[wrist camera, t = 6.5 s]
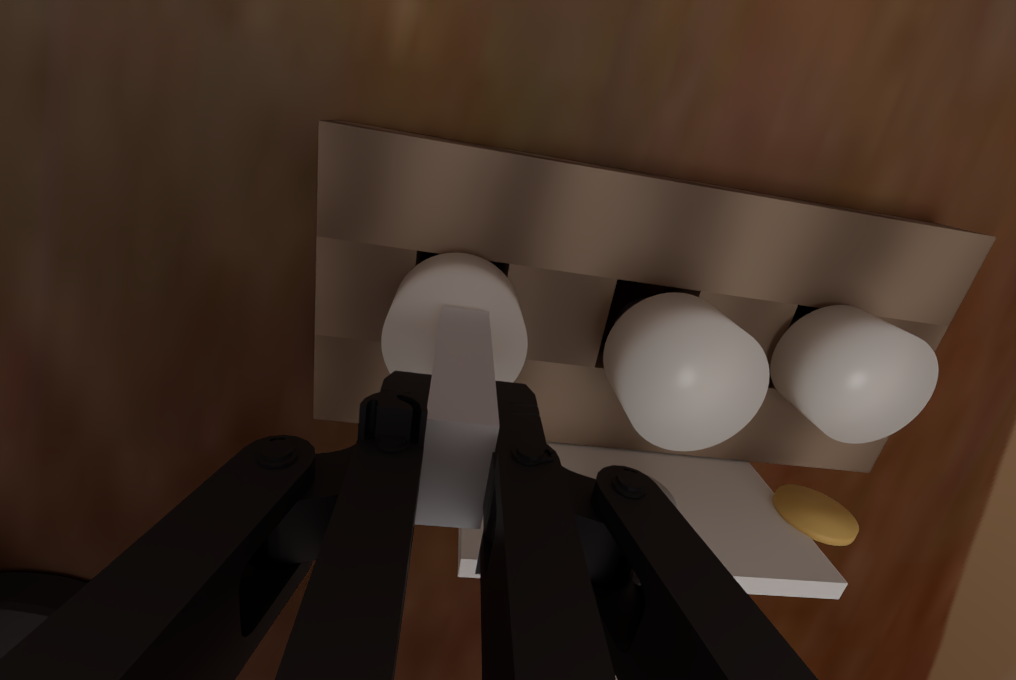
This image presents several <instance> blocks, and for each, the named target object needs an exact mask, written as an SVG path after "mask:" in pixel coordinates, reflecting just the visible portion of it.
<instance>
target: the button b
mask: <svg viewBox="0 0 1016 680" xmlns="http://www.w3.org/2000/svg"><path fill="white" fill-rule="evenodd" d="M603 364H604V370H605V374H606V376H607V379H608V381H609V383H610V385H611V386H612V388H613V390H614V392H615V394H616V396H617V398H618V399H619V401H620V403H621V405H622V407H623V409H624V411H625V412H626V414H627V416H628V418H629V420H630V422H631V424H632V425H633V427H634V428H635V430H636V431H637V432H638V433H639V434H640V435H641V436H642V437H643V438H644V439H645V440H647V441H648V442H650V443H652V444H653V445H656V446H658V447H660V448H664V449H667V450H673V451H695V450H701V449H705V448H708V447H712V446H714V445H717V444H719V443H721V442H723V441H725V440H727V439H729V438H730V437H732V436H733V435H735V434H736V433H738V432H739V431H740V430H741V429H743V428H744V427H745V426H746V425H747V424H748V423H749V422H750V421H751V419H752V418H753V417H754V416H755V415H756V413H757V412H758V410H759V408H760V407H761V405H762V403H763V401H764V399H765V396H766V393H767V390H768V385H769V374H770V373H769V365H768V361H767V357H766V355H765V353H764V351H763V349H762V347H761V346H760V344H759V343H758V342H757V341H756V340H755V339H754V338H753V337H752V336H751V335H749V334H748V333H747V332H745V331H744V330H743V329H741V328H740V327H739V326H738V325H736V324H735V323H734V322H732V321H731V320H730V319H728V318H727V317H726V316H725V315H723V314H722V313H721V312H719V311H718V310H717V309H715V308H714V307H713V306H712V305H710V304H709V303H708V302H706V301H705V300H703V299H701V298H699V297H697V296H694V295H691V294H686V293H677V292H673V293H663V294H658V295H655V296H651V297H649V298H639V299H635V300H633V301H631V302H629V303H627V304H626V305H625V306H624V307H623V308H622V309H621V310H620V311H619V313H618V314H617V316H616V319H615V323H614V326H613V327H612V329H611V331H610V333H609V335H608V337H607V340H606V343H605V347H604V352H603Z"/></svg>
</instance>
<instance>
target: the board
mask: <svg viewBox="0 0 1016 680" xmlns="http://www.w3.org/2000/svg"><path fill="white" fill-rule="evenodd" d="M995 239H996V237H994V236H990V235H985V234H981V233H976V232H972V231H968V230H963V229H959V228H954V227H950V226H945V225H941V224H937V223H931V222H925V221H920V220H914V219H908V218H902V217H897V216H891V215H885V214H879V213H873V212H868V211H862V210H856V209H850V208H844V207H839V206H833V205H827V204H821V203H816V202H810V201H804V200H798V199H792V198H787V197H781V196H775V195H769V194H763V193H758V192H752V191H746V190H740V189H735V188H729V187H723V186H717V185H711V184H706V183H700V182H694V181H688V180H682V179H677V178H671V177H665V176H659V175H654V174H648V173H642V172H636V171H630V170H625V169H619V168H613V167H607V166H601V165H596V164H590V163H584V162H578V161H573V160H567V159H561V158H555V157H549V156H544V155H538V154H532V153H526V152H520V151H515V150H509V149H503V148H497V147H492V146H486V145H480V144H474V143H468V142H463V141H457V140H451V139H445V138H439V137H434V136H428V135H422V134H416V133H410V132H405V131H399V130H393V129H387V128H382V127H376V126H370V125H364V124H358V123H353V122H347V121H341V120H321V121H319V128H318V183H317V237H316V292H315V347H314V402H313V419H319V420H329V421H339V422H350V423H359V409H360V403H361V402H362V401H363V400H364V398H366V397H368V396H370V395H372V394H374V393H378V392H380V389H381V386H382V383H383V380H384V378H386V377H387V376H388V375H390V373H389V371H388V369H387V366H386V364H385V361H384V358H383V354H382V347H381V337H382V330H383V326H384V323H385V319H386V317H387V315H388V312H389V310H390V307H391V305H392V302H393V300H394V297H395V295H396V292H397V290H398V288H399V286H400V283H401V282H402V280H403V279H404V277H405V276H406V275H407V274H408V273H409V272H410V270H412V269H413V268H414V267H415V266H416V265H418V264H419V263H420V260H421V251H424V252H431V253H438V254H445V253H456V252H457V253H467V254H471V255H475V256H478V257H481V258H483V259H485V260H487V261H494V262H501V263H502V265H501V271H502V272H503V273H504V274H505V275H506V277H507V278H508V279H509V281H510V282H511V284H512V286H513V288H514V290H515V292H516V295H517V298H518V302H519V306H520V309H521V313H522V316H523V320H524V323H525V327H526V332H527V340H528V347H527V355H526V359H525V362H524V365H523V367H522V370H521V372H520V373H519V375H518V377H517V378H516V380H515V381H514V382H513V383H521V384H526V385H527V386H528V387H529V388H530V389H531V390H532V392H533V393H534V394H535V396H536V400H537V405H538V406H537V407H538V409H539V413H540V418H541V422H542V426H543V431H544V435H545V439H546V442H557V443H567V444H577V445H588V446H598V447H608V448H619V449H629V450H640V451H650V452H660V453H671V454H681V455H691V456H702V457H712V458H722V459H733V460H743V461H753V462H764V463H774V464H784V465H795V466H805V467H816V468H826V469H836V470H847V471H857V472H867V473H869V472H870V470H871V469H872V467H873V465H874V463H875V461H876V459H877V457H878V456H879V454H880V452H881V450H882V448H883V446H884V444H885V443H886V441H887V439H888V437H889V436H887V437H884V438H882V439H879V440H876V441H872V442H867V443H859V444H851V443H844V442H840V441H837V440H834V439H832V438H830V437H829V436H827V435H826V434H825V433H823V432H822V431H821V430H820V429H819V428H818V427H817V426H816V425H814V424H813V423H812V422H811V421H810V420H809V419H808V418H806V417H805V416H804V415H803V414H802V413H801V412H800V411H799V410H797V409H796V408H795V407H794V406H793V405H792V404H791V403H790V402H788V401H787V400H786V399H785V398H784V397H783V396H782V395H781V394H780V393H779V392H778V391H777V390H776V388H775V387H774V384H773V382H772V379H771V373H770V365H771V359H772V355H773V352H774V350H775V347H776V345H777V343H778V342H779V340H780V339H781V337H782V336H783V335H784V333H785V332H786V331H787V330H788V329H789V326H790V324H791V321H792V319H793V316H794V314H795V311H796V309H797V307H798V305H802V306H809V307H816V308H823V307H827V306H832V305H849V306H853V307H856V308H859V309H861V310H863V311H865V312H867V313H869V314H871V315H873V316H876V317H878V318H880V319H882V320H884V321H886V322H888V323H890V324H892V325H894V326H896V327H898V328H900V329H902V330H904V331H906V332H908V333H910V334H912V335H915V336H917V337H919V338H920V339H922V340H924V341H925V342H926V343H927V344H928V345H929V346H930V347H931V348H932V350H933V351H934V352H935V350H936V348H937V346H938V344H939V343H940V341H941V339H942V337H943V335H944V333H945V331H946V330H947V328H948V326H949V324H950V322H951V320H952V319H953V317H954V315H955V313H956V311H957V309H958V307H959V306H960V304H961V302H962V300H963V298H964V296H965V294H966V293H967V291H968V289H969V287H970V285H971V283H972V281H973V280H974V278H975V276H976V274H977V272H978V270H979V268H980V267H981V265H982V263H983V261H984V259H985V257H986V256H987V254H988V252H989V250H990V248H991V246H992V244H993V243H994V241H995ZM617 279H620V280H627V281H634V282H641V283H648V284H655V285H662V286H669V289H668V292H667V293H673V292H677V293H686V294H691V295H694V296H697V297H699V298H701V299H703V300H705V301H706V302H708V303H709V304H710V305H712V306H713V307H714V308H715V309H717V310H718V311H719V312H721V313H722V314H723V315H725V316H726V317H727V318H728V319H730V320H731V321H732V322H734V323H735V324H736V325H738V326H739V327H740V328H741V329H743V330H744V331H745V332H747V333H748V334H749V335H751V336H752V337H753V338H754V339H755V340H756V341H757V342H758V343H759V344H760V346H761V347H762V349H763V351H764V353H765V355H766V357H767V361H768V365H769V373H770V374H769V385H768V390H767V393H766V396H765V399H764V401H763V403H762V405H761V407H760V408H759V410H758V412H757V413H756V415H755V416H754V417H753V418H752V419H751V421H750V422H749V423H748V424H747V425H746V426H745V427H744V428H743V429H741V430H740V431H739V432H738V433H736V434H735V435H733V436H732V437H730V438H729V439H727V440H725V441H723V442H721V443H719V444H717V445H714V446H712V447H708V448H705V449H701V450H695V451H673V450H667V449H664V448H660V447H658V446H656V445H653V444H652V443H650V442H648V441H647V440H645V439H644V438H643V437H642V436H641V435H640V434H639V433H638V432H637V431H636V430H635V428H634V427H633V425H632V424H631V422H630V420H629V418H628V416H627V414H626V412H625V411H624V409H623V407H622V405H621V403H620V401H619V399H618V398H617V396H616V394H615V392H614V390H613V388H612V386H611V385H610V383H609V381H608V379H607V376H606V374H605V370H604V364H603V352H604V347H605V343H602V342H601V341H602V337H603V333H604V329H605V325H606V321H607V317H608V314H609V310H610V306H611V302H612V298H613V294H614V290H615V286H616V283H617Z"/></svg>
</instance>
